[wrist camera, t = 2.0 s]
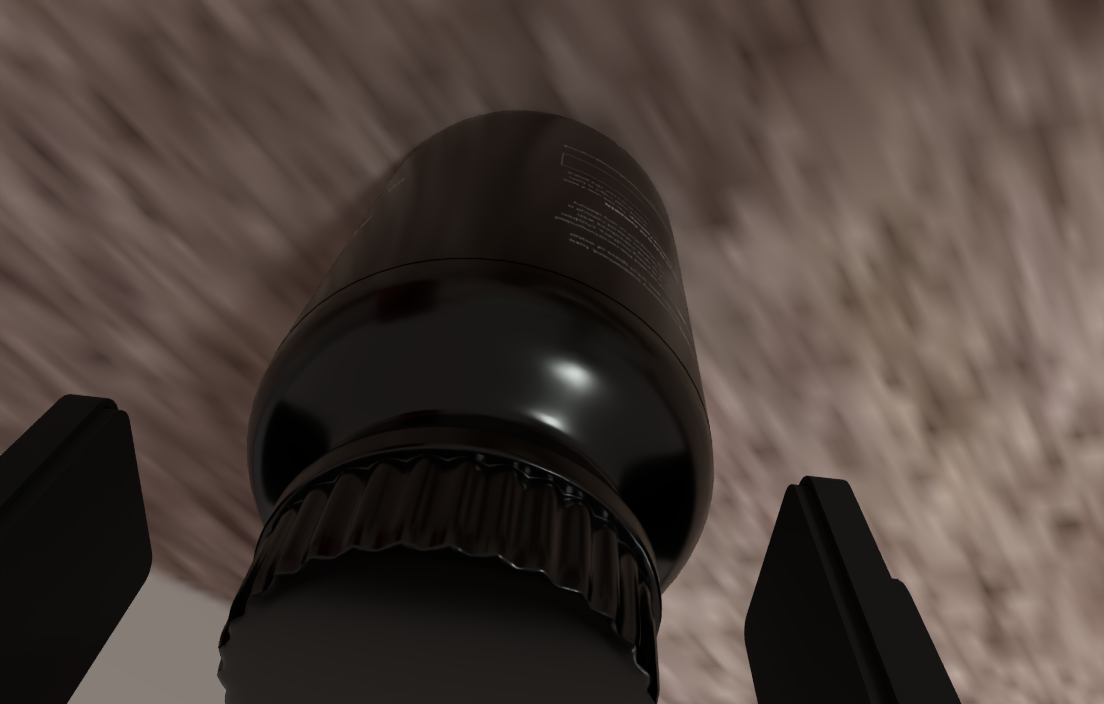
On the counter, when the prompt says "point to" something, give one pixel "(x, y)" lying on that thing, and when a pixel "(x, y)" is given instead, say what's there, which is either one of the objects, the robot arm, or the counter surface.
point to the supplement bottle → (479, 439)
